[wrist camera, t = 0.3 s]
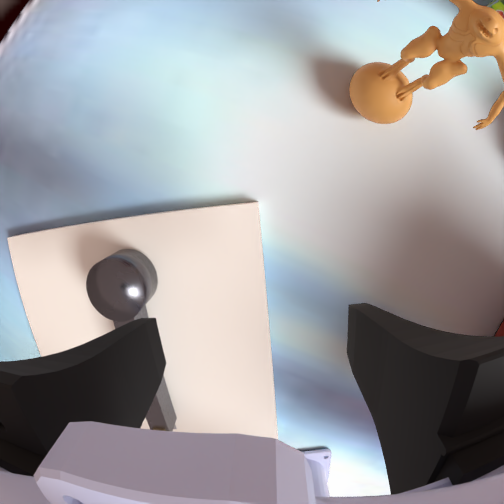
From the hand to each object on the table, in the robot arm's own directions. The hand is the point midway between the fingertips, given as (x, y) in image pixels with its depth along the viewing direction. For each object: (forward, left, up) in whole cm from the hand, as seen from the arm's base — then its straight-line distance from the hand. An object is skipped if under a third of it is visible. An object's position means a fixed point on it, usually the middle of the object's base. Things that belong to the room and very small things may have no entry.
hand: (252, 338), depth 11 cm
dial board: (-6, +10, -10) cm, 15 cm away
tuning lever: (-5, +9, -9) cm, 13 cm away
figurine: (+11, -9, -10) cm, 18 cm away
